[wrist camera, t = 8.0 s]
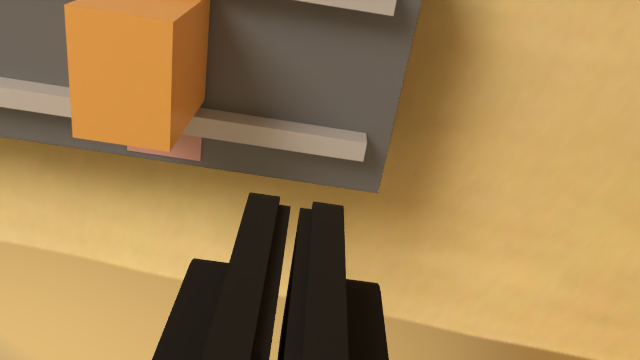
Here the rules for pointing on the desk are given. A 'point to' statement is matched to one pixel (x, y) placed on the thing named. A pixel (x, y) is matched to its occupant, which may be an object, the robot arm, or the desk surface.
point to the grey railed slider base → (243, 87)
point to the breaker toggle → (136, 69)
